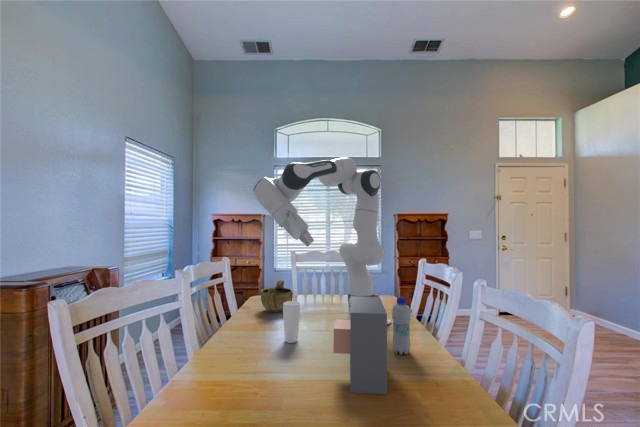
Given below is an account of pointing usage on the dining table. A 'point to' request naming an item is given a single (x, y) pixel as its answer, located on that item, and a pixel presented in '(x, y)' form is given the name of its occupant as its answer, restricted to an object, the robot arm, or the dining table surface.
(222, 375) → the dining table surface
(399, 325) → the bottle
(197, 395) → the dining table surface
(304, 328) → the dining table surface
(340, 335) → the pink rectangular block
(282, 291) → the olive brown basket
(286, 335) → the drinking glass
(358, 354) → the gray rectangular box
